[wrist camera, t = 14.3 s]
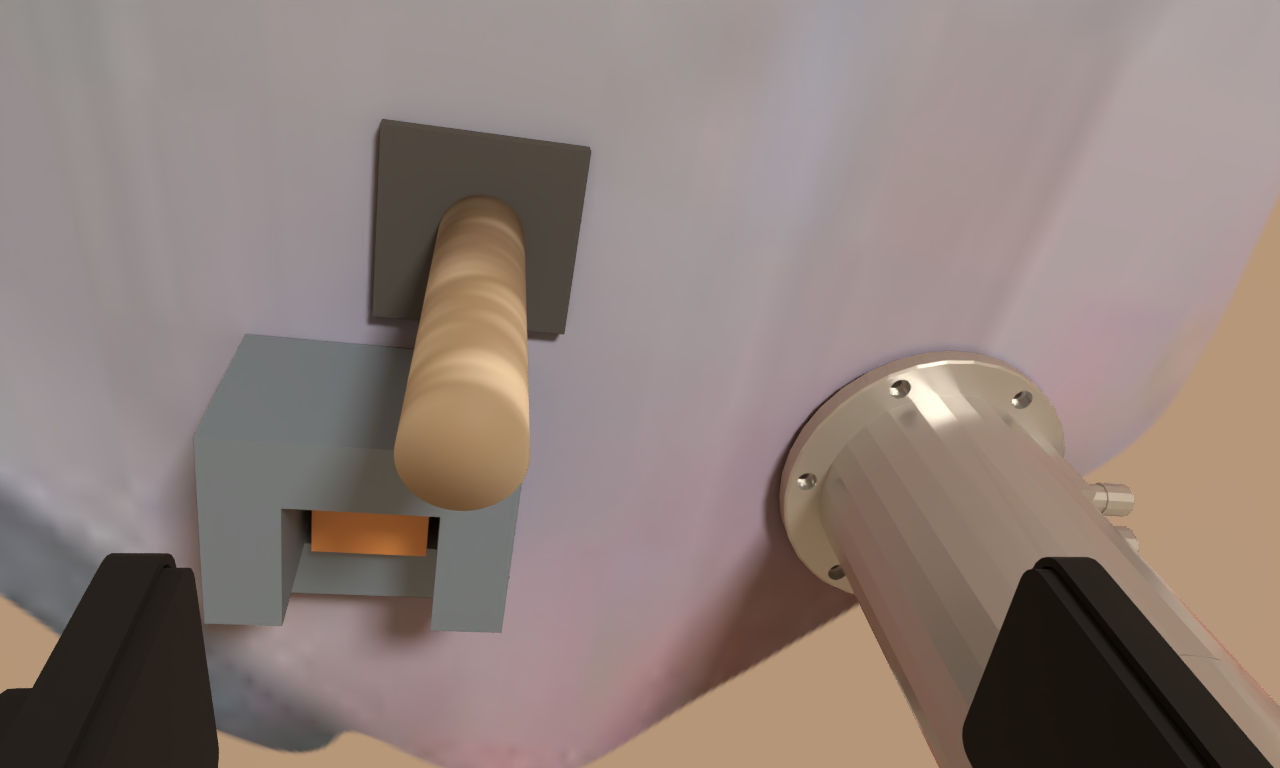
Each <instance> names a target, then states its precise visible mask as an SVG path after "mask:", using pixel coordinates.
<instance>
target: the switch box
mask: <svg viewBox="0 0 1280 768" xmlns="http://www.w3.org/2000/svg"><path fill="white" fill-rule="evenodd" d="M413 352H414V349H406V348H395V347H384V346H373V345H361V344H350V343H339V342H328V341H316V340H305V339H294V338H282V337H271V336H260V335H249V334H245V336H244V338H243V340H242V342H241V344H240V346H239V348H238V350H237V352H236V354H235V356H234V358H233V360H232V362H231V364H230V366H229V368H228V369H227V371H226V373H225V375H224V377H223V379H222V381H221V383H220V385H219V387H218V389H217V391H216V393H215V395H214V397H213V399H212V401H211V403H210V405H209V407H208V409H207V411H206V413H205V415H204V416H203V418H202V420H201V422H200V424H199V426H198V428H197V430H196V432H195V434H194V436H193V443H194V459H195V476H196V493H197V510H198V526H199V543H200V560H201V577H202V593H203V610H204V624H233V625H265V626H282V624H283V621H284V617H285V613H286V609H287V606H288V602H289V598H290V595H291V593H317V594H344V595H371V596H397V597H424V598H433V605H432V617H431V630H430V631H459V632H492V633H501V632H502V625H503V617H504V610H505V603H506V595H507V588H508V580H509V573H510V566H511V558H512V551H513V543H514V536H515V529H516V521H517V514H518V506H519V499H520V492H521V484H522V483H521V484H520V485H519V487H518V488H517V489H516V490H515V491H514V492H513V493H512V494H511V495H509V496H508V497H507V498H506V499H504V500H502V501H500V502H499V503H497V504H494V505H492V506H489V507H486V508H483V509H478V510H471V511H454V510H447V509H443V508H439V507H436V506H433V505H431V504H429V503H427V502H425V501H423V500H421V499H420V498H418V497H417V496H416V495H414V494H413V493H412V492H411V491H410V490H409V489H408V488H407V487H406V486H405V484H404V483H403V482H402V480H401V478H400V477H399V475H398V472H397V470H396V467H395V462H394V447H395V441H396V436H397V431H398V426H399V421H400V416H401V411H402V407H403V402H404V397H405V392H406V387H407V382H408V377H409V372H410V367H411V362H412V357H413ZM312 510H318V511H336V512H355V513H373V514H391V515H410V516H428V517H429V528H428V538H427V549H426V556H406V555H384V554H363V553H341V552H319V551H311V542H312Z"/></svg>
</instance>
